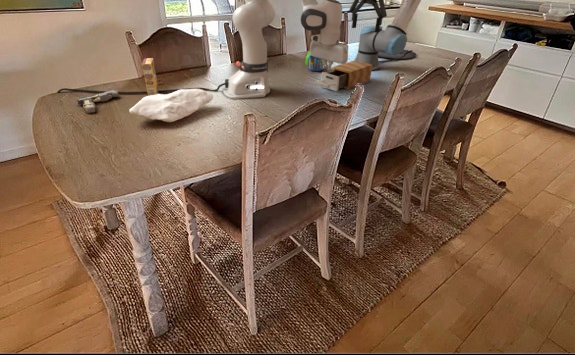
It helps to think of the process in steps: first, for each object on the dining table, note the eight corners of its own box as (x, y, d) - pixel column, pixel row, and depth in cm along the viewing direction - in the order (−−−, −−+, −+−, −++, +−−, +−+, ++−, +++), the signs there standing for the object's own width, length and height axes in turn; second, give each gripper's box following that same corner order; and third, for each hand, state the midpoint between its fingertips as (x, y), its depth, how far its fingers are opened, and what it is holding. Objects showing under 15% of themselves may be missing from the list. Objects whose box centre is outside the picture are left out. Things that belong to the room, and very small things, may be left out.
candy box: (157, 97, 164) (152, 63, 155) (147, 98, 163) (141, 63, 155) (158, 91, 171) (153, 57, 163) (149, 91, 170) (143, 58, 162)
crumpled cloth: (117, 110, 146) (113, 90, 140) (195, 92, 166) (194, 73, 160) (143, 139, 134) (140, 118, 128) (223, 116, 154) (224, 96, 148)
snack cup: (320, 65, 217) (322, 48, 212) (332, 70, 210) (333, 52, 204) (299, 69, 210) (300, 51, 204) (310, 74, 202) (311, 55, 197)
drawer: (328, 94, 173) (330, 79, 170) (312, 88, 179) (313, 74, 175) (357, 83, 188) (359, 70, 185) (342, 79, 194) (343, 66, 190)
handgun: (128, 97, 156) (111, 87, 164) (86, 107, 144) (70, 97, 152) (129, 103, 157) (113, 94, 165) (88, 114, 146) (72, 103, 154)
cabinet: (348, 89, 183) (350, 71, 178) (331, 84, 190) (332, 66, 185) (369, 81, 195) (372, 64, 190) (352, 76, 202) (354, 60, 197)
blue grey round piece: (426, 55, 246) (429, 41, 242) (391, 61, 229) (393, 46, 224) (387, 47, 271) (389, 34, 267) (353, 52, 254) (354, 38, 249)
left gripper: (352, 42, 161) (348, 73, 169) (317, 34, 173) (315, 63, 180) (344, 44, 157) (340, 75, 165) (308, 35, 169) (306, 65, 176)
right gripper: (399, -16, 166) (390, 33, 178) (354, -21, 180) (349, 25, 192) (391, -16, 162) (382, 35, 173) (345, -20, 176) (340, 26, 187)
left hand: (327, 69), depth 173 cm, fingers closed
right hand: (365, 30), depth 183 cm, fingers open, 13 cm apart
